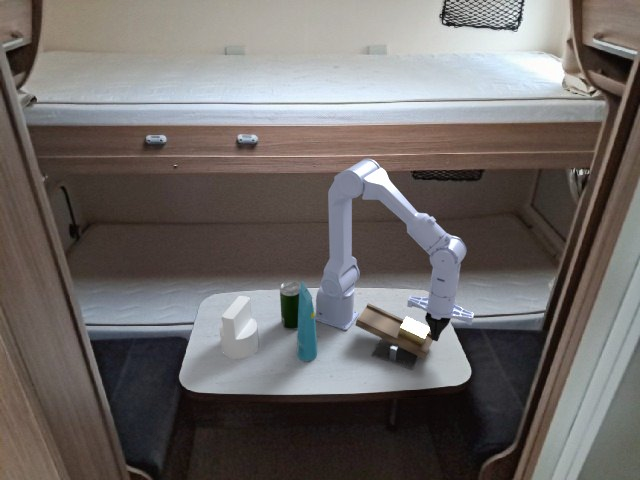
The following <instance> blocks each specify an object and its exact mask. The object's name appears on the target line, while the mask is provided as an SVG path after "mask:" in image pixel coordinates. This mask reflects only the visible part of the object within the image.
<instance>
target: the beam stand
mask: <svg viewBox="0 0 640 480" xmlns="http://www.w3.org/2000/svg"><path fill="white" fill-rule="evenodd" d="M371 357H374V358H377V359H380V360H383V361H386V362H389V363H391V364H394V365H398V366H400V367H402V368H405V369H409V370H412V371H413V369H414V367H415V365H416V363H417V360H418V358H419V356H417V355H415V354H413V353H411V352H409V351H407V350H405V349H403V348H401V347H399V346H396V345H394V344H392V343H390V342H388V341H386V340H384V339H382V338H380V340H379V342H378V344H377V345H376V346H375V348H374V350H373V351H372V354H371Z"/></svg>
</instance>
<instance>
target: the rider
mask: <svg viewBox="0 0 640 480" xmlns="http://www.w3.org/2000/svg"><path fill="white" fill-rule="evenodd" d="M403 320H404V322H403V324H402V326H401V328H400V330H399V333H398V337H400V338H403V339H405V340H407V341H409V342H411V343H413V344H415V345H417V346H419V347H422V344H423V342H424V340H425V338H426V336H427V334H428V331H429V332H430V328H429V325H425V324H424V323H421V322H420V321H416V320H415V319H413V318H410V317H408V316H406V317H405V319H403Z"/></svg>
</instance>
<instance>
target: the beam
mask: <svg viewBox="0 0 640 480" xmlns="http://www.w3.org/2000/svg"><path fill="white" fill-rule="evenodd" d="M404 320H405V319H403V318H402V317H399V316H397V315H395V314H393V313H390V312H388V311H386V310H384V309H381V308H380V307H378V306H376V305H373V304H371V303H367V304H366V307H365V308H364V309H363V311H362V312H361V313H360V315H359V317H358V316H357V317H356V321H355V325H354V326H355V327H358V328H359V329H362V330H363V331H366V332H369V333H370V334H371V335H375V336H377V337H379V338H380V339H381V338H382V339H384V340H386V341H388V342H390V343H392V344H394V345H396V346H399V347H401V348H403V349H405V350H407V351H409V352H411V353H413V354H415V355H417V356H419V357H420V358H422V359H424V360H425V359H426V358H427V355H428V352H429V350H430V348H431V347H432V343H433V341H434V340H432V338H431V332H430V330H429V331H428V334H427V336H426V338H425V340H424V342H423V344H422V347H419V346H417V345H415V344H413V343H411V342H409V341H407V340H405V339H403V338H400V337H398V333H399V330H400V328H401V326H402V324H403V322H404ZM419 357H418V358H419Z"/></svg>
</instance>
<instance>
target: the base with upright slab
mask: <svg viewBox="0 0 640 480" xmlns="http://www.w3.org/2000/svg"><path fill="white" fill-rule="evenodd" d="M218 330H219V336H220V343H221V344H220V345H221V350H222V353H223V352H224V353H223V354H224V355H225V356H226V357H227V356H228V357H227V358H229V357H230V359H232V358H234V360H242V359H243V360H244V359H247V358H249V357H251V356H253V355H254V354H256V353H257V351H258V349H259V348H260V340H259V339H260V338H259V328H258V323H257V321H256V319H255V318H253V312H252V302H251V298H250V297H249V296H246V295H238V296H237V298H236V299H235V300H234V301H233V302H232V303H231V305H230V306H229V307H228V308H227V309H226V310H225V311H224V313H223V314H221V324H220V325H219V329H218Z"/></svg>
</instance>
